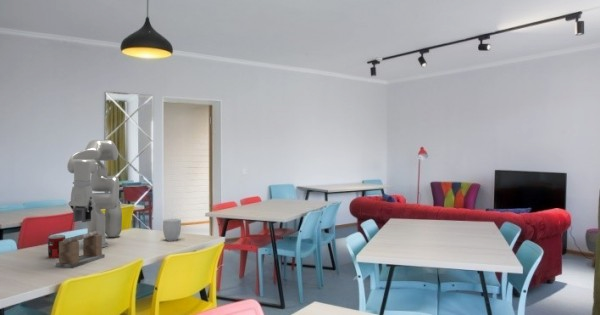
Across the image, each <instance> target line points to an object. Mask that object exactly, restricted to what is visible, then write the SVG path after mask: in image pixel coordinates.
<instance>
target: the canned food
mask: <svg viewBox="0 0 600 315" xmlns="http://www.w3.org/2000/svg"><path fill="white" fill-rule="evenodd" d="M64 239H66V235H65V234H55V235H49V236H48V238H47V255H48V258H49V259H59V242H60V241H63V240H64Z"/></svg>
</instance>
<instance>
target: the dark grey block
mask: <svg viewBox="0 0 600 315" xmlns="http://www.w3.org/2000/svg"><path fill="white" fill-rule="evenodd" d="M88 209H89V207H88ZM85 212H87V211H86V208H85V207H74V208H73V211H72V214H73V216H72V219H73V220H72V221H73V223H76V222H81V223H88V221H91V219H88V220H86V219H85Z"/></svg>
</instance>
